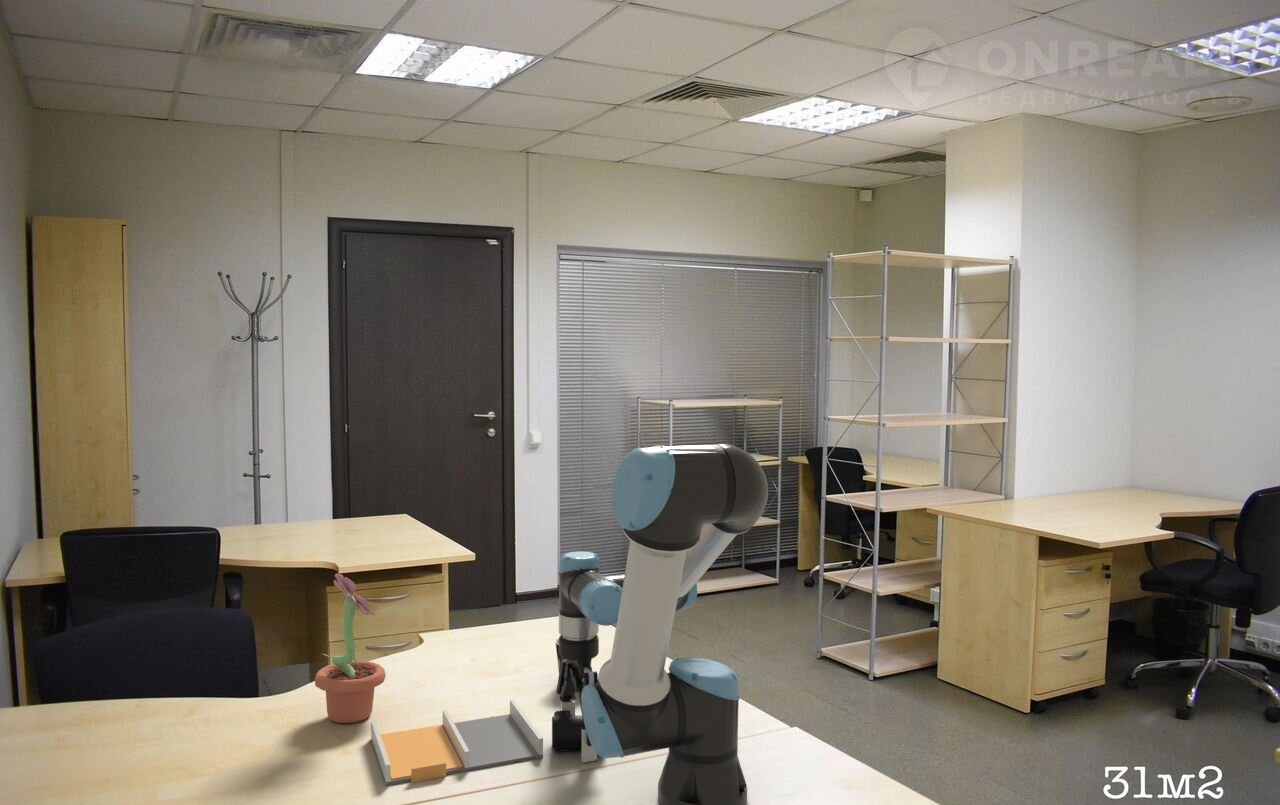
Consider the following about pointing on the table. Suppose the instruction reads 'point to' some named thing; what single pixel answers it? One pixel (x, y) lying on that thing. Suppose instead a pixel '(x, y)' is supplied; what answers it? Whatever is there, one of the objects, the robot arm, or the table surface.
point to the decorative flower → (349, 668)
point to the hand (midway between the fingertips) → (578, 747)
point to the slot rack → (456, 746)
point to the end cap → (566, 731)
